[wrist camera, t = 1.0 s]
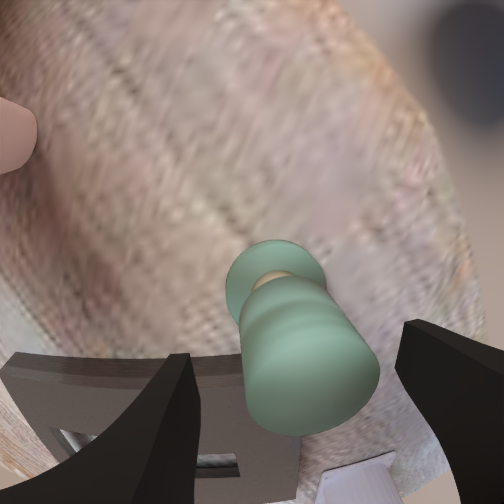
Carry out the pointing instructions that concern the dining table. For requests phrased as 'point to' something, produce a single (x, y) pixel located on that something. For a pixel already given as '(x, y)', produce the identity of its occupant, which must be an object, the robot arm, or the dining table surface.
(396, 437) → the dining table surface
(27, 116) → the smoothie
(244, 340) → the peg
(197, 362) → the keyhole plate
